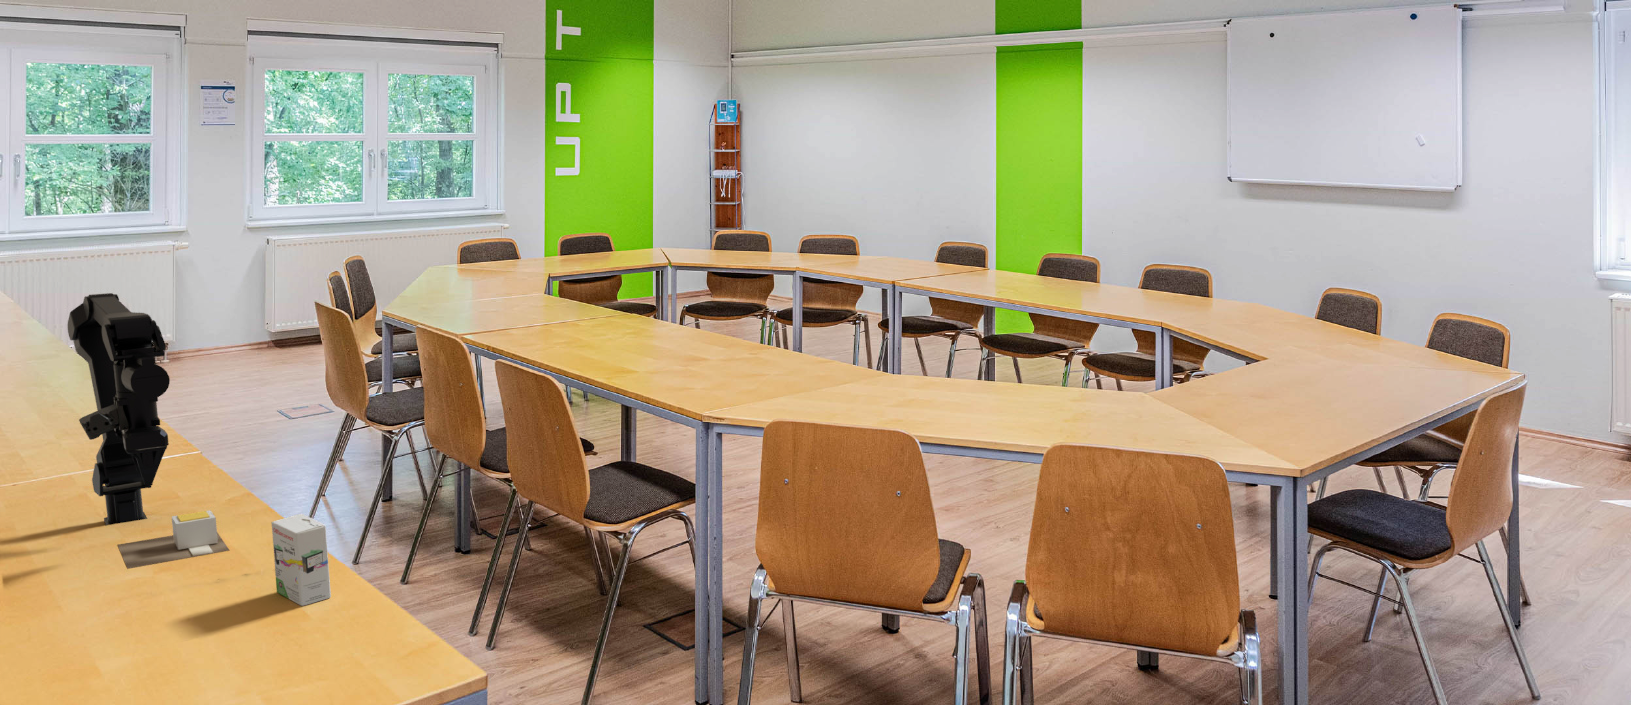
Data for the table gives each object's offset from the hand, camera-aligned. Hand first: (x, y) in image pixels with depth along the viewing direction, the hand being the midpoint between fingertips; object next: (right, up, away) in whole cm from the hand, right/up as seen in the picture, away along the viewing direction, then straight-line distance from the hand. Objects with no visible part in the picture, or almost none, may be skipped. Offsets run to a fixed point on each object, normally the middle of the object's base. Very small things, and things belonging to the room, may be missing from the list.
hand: (144, 478), depth 204 cm
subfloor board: (+6, -13, -2) cm, 14 cm away
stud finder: (+9, -11, 0) cm, 14 cm away
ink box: (+36, -16, -20) cm, 44 cm away
